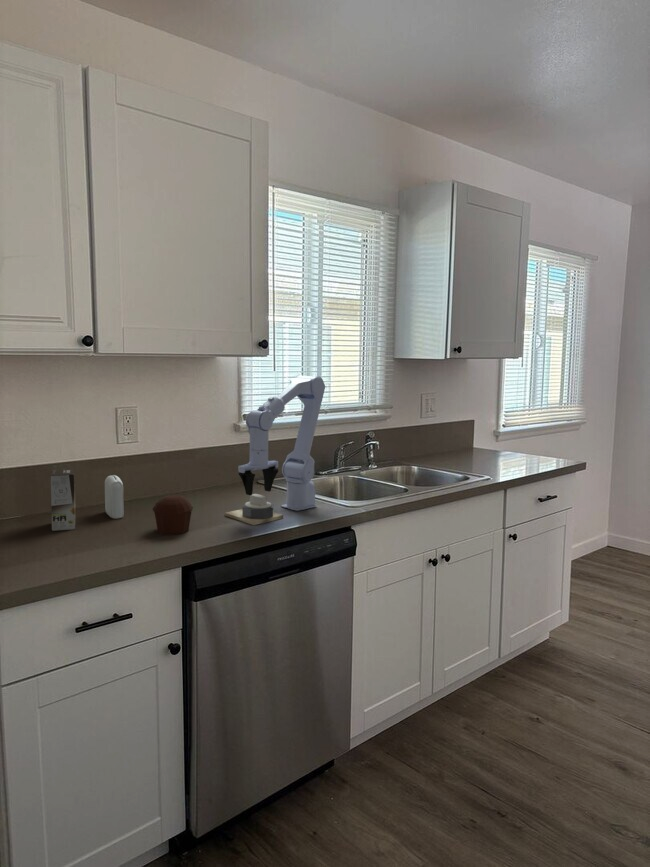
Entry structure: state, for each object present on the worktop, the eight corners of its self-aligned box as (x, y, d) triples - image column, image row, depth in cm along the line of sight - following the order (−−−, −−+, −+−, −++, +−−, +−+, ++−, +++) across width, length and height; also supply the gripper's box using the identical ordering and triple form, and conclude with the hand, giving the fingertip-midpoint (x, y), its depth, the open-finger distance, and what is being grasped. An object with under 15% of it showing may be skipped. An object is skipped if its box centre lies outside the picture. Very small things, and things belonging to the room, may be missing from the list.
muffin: (187, 536, 184) (187, 501, 182) (148, 535, 184) (147, 500, 182) (196, 525, 195) (196, 492, 194) (159, 524, 196) (159, 491, 194)
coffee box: (75, 529, 188) (74, 474, 185) (51, 531, 185) (49, 475, 183) (75, 521, 196) (74, 468, 194) (52, 522, 194) (51, 469, 192)
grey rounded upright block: (103, 511, 208) (103, 473, 206) (117, 510, 210) (117, 472, 208) (110, 519, 199) (109, 479, 197) (125, 518, 201) (124, 478, 199)
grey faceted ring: (259, 509, 211) (259, 500, 211) (279, 515, 205) (279, 506, 205) (236, 514, 205) (237, 505, 204) (256, 520, 198) (256, 511, 198)
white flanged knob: (259, 506, 210) (259, 491, 210) (276, 511, 205) (276, 496, 204) (239, 511, 205) (239, 495, 204) (256, 516, 199) (256, 499, 198)
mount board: (253, 509, 215) (253, 506, 215) (283, 518, 206) (283, 515, 206) (224, 515, 207) (224, 512, 207) (253, 525, 197) (253, 521, 197)
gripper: (267, 445, 210) (267, 487, 212) (232, 450, 200) (231, 493, 201) (283, 448, 205) (282, 491, 207) (247, 453, 195) (246, 498, 197)
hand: (258, 492), depth 204 cm, fingers open, 7 cm apart
